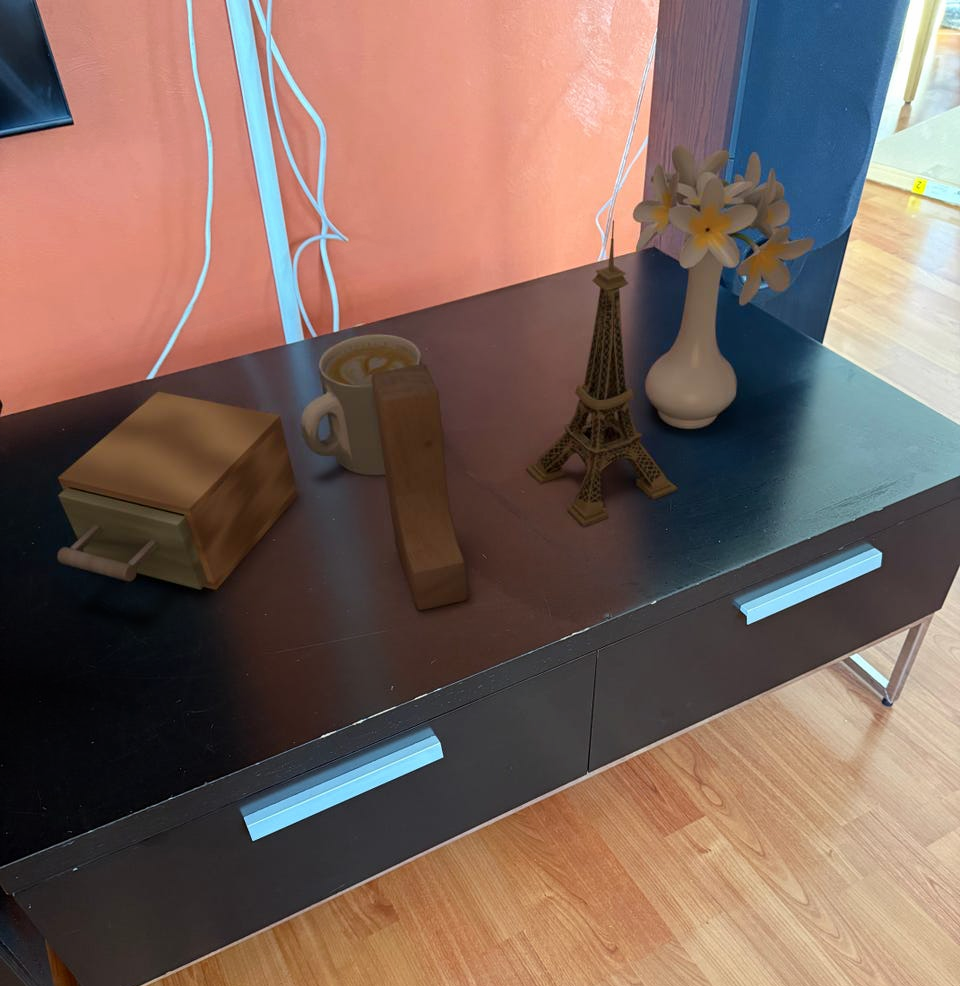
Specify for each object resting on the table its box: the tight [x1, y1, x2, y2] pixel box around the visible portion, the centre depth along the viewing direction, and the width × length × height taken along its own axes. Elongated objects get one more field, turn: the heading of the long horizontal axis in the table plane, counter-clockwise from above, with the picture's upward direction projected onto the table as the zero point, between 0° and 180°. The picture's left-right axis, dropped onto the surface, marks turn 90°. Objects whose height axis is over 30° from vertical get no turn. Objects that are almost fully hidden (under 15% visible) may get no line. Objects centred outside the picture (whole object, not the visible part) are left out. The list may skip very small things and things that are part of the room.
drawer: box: [56, 488, 208, 591], centre depth 85 cm, size 18×12×7 cm
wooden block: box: [372, 363, 468, 611], centre depth 78 cm, size 9×4×18 cm, turn 16°
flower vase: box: [632, 144, 815, 430], centre depth 91 cm, size 13×18×25 cm
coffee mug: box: [300, 333, 423, 476], centre depth 94 cm, size 13×10×10 cm
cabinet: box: [57, 391, 299, 591], centre depth 88 cm, size 15×14×9 cm
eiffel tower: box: [525, 220, 678, 528], centre depth 84 cm, size 11×11×25 cm
